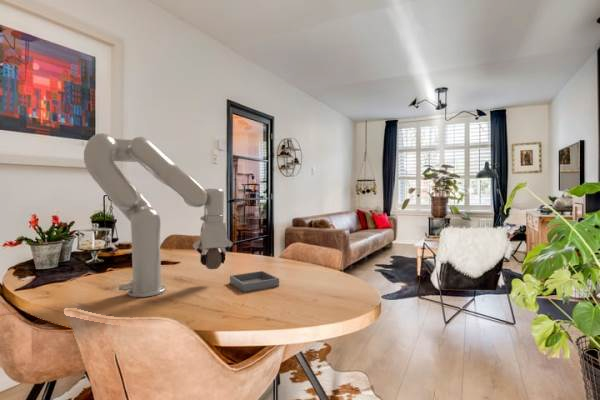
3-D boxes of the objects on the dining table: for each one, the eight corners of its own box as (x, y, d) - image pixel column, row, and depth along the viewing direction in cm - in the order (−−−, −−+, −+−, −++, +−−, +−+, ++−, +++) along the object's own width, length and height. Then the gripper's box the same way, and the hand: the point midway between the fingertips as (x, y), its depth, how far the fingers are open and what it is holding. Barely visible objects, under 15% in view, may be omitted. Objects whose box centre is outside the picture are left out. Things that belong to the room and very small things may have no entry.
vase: (219, 270, 130) (219, 248, 130) (201, 269, 131) (202, 247, 130) (223, 266, 137) (223, 245, 137) (206, 266, 137) (207, 245, 137)
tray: (243, 292, 122) (243, 284, 121) (229, 283, 134) (229, 275, 134) (279, 286, 129) (279, 278, 129) (262, 277, 142) (262, 270, 142)
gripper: (194, 220, 126) (193, 267, 126) (237, 219, 135) (236, 263, 135) (189, 219, 132) (188, 263, 133) (231, 218, 141) (230, 260, 142)
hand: (212, 263), depth 134 cm, fingers closed on vase, 6 cm apart
